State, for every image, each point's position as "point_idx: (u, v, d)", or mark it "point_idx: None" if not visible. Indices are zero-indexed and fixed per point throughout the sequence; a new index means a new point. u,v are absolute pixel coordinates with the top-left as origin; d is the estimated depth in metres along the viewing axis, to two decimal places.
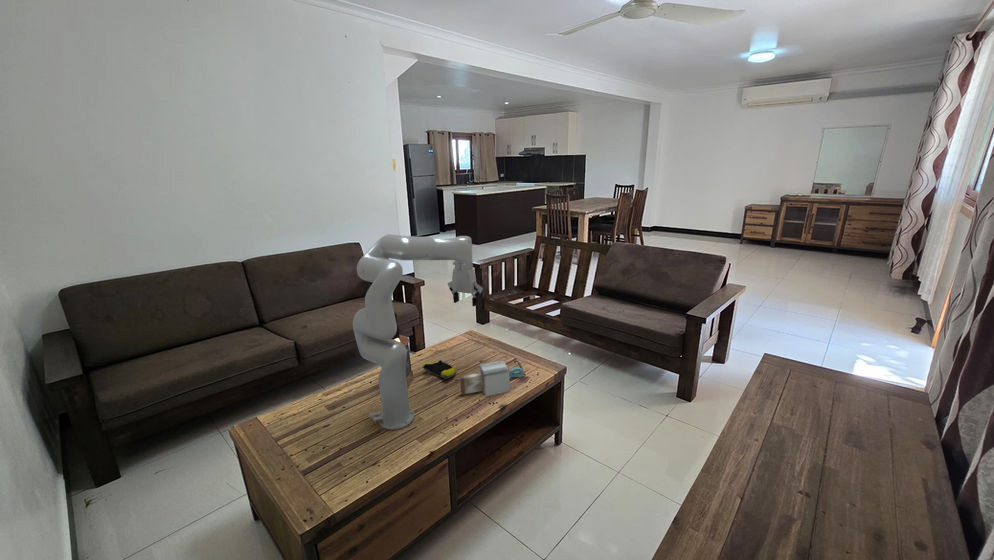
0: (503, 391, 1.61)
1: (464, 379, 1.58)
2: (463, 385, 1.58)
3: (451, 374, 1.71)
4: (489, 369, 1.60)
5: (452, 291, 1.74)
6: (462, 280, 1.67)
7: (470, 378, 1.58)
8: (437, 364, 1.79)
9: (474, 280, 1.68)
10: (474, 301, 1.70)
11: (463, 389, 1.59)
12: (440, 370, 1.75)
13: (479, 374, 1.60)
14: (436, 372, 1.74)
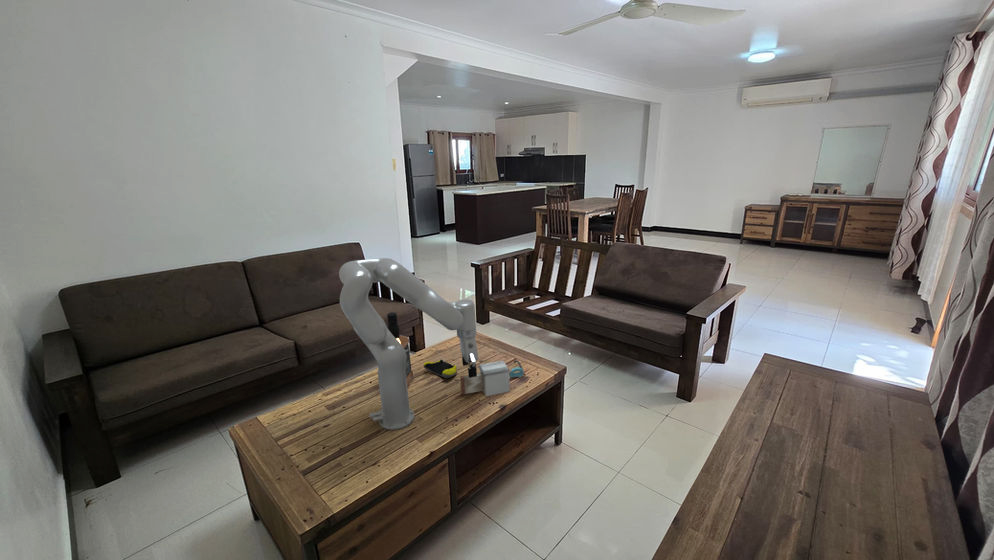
0: (503, 391, 1.61)
1: (464, 379, 1.58)
2: (463, 385, 1.58)
3: (452, 373, 1.72)
4: (489, 369, 1.60)
5: None
6: None
7: (470, 378, 1.58)
8: (438, 363, 1.80)
9: None
10: None
11: (463, 389, 1.59)
12: (442, 369, 1.75)
13: (479, 374, 1.60)
14: (437, 371, 1.75)
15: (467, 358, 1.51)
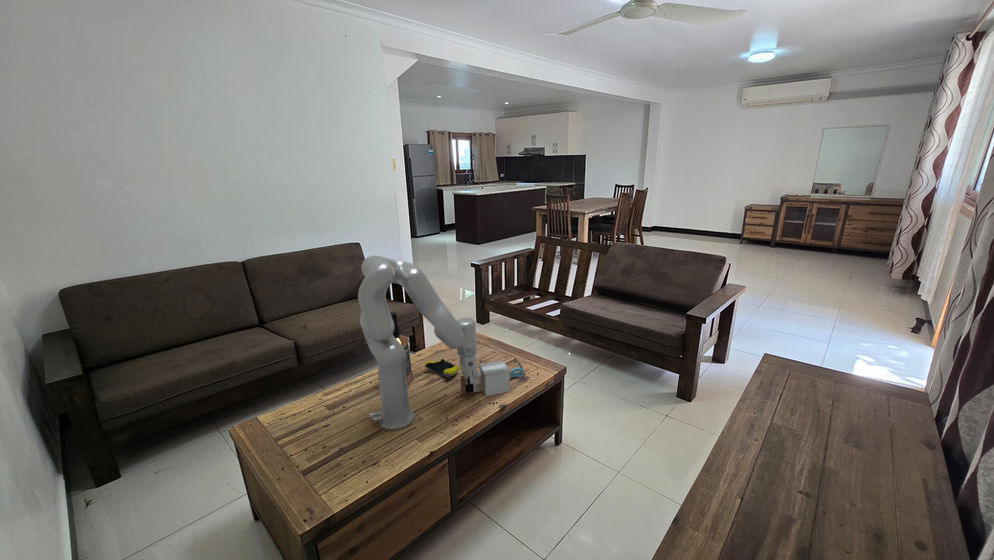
0: (503, 391, 1.61)
1: (464, 379, 1.58)
2: (463, 385, 1.58)
3: (453, 373, 1.72)
4: (489, 369, 1.60)
5: None
6: None
7: None
8: (439, 363, 1.80)
9: None
10: None
11: (463, 389, 1.59)
12: (443, 368, 1.76)
13: (479, 374, 1.60)
14: (438, 371, 1.75)
15: (467, 376, 1.53)
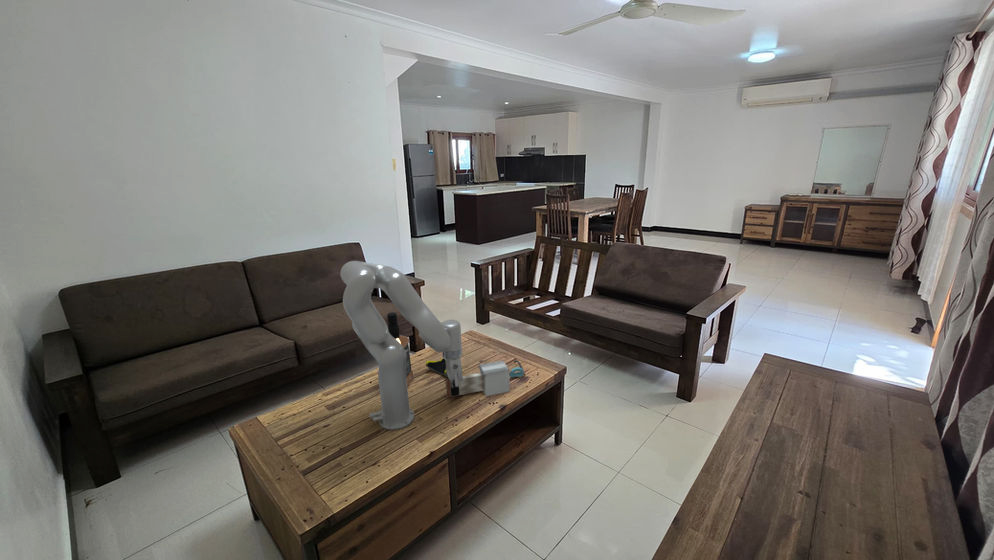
0: (503, 391, 1.61)
1: (449, 382, 1.56)
2: (448, 388, 1.56)
3: None
4: (489, 369, 1.60)
5: (458, 385, 1.56)
6: None
7: None
8: (440, 362, 1.81)
9: None
10: None
11: (449, 392, 1.57)
12: (444, 368, 1.76)
13: (465, 377, 1.58)
14: (439, 370, 1.76)
15: (452, 379, 1.51)
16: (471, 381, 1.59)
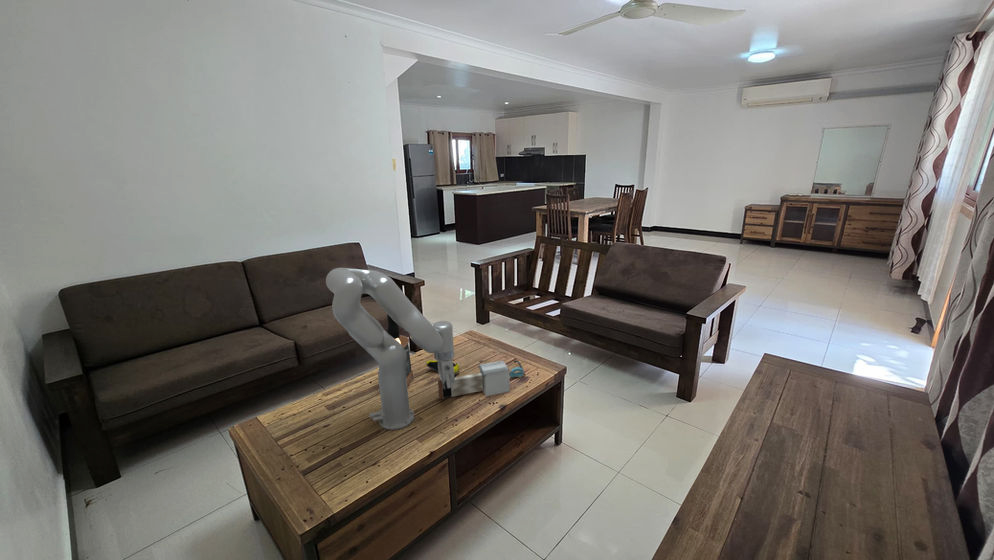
0: (503, 391, 1.61)
1: (441, 383, 1.55)
2: (440, 389, 1.56)
3: (455, 372, 1.73)
4: (489, 369, 1.60)
5: (450, 386, 1.55)
6: None
7: None
8: None
9: None
10: None
11: (441, 393, 1.56)
12: None
13: (457, 378, 1.58)
14: None
15: (443, 380, 1.50)
16: (463, 382, 1.58)
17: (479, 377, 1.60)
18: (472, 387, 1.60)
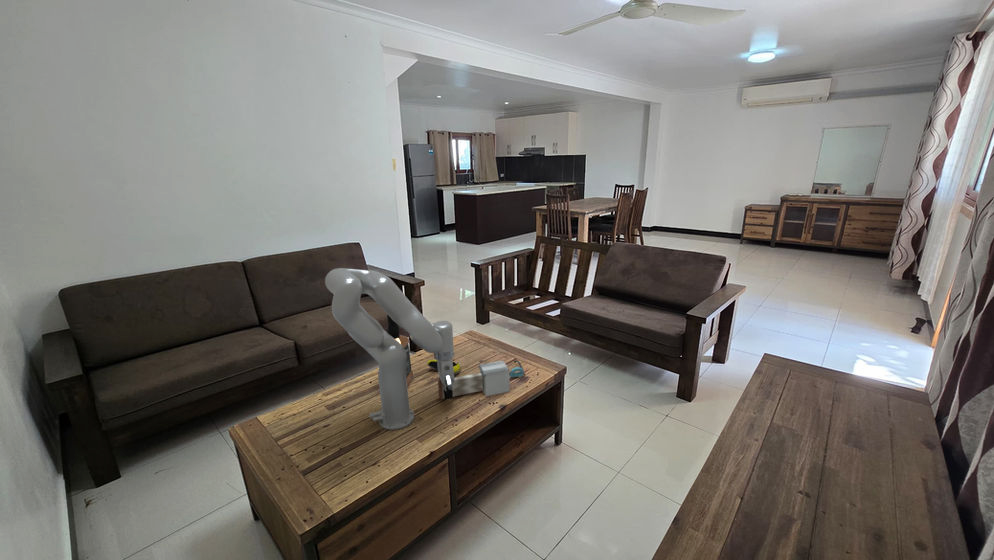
0: (503, 391, 1.61)
1: (441, 383, 1.55)
2: (440, 389, 1.56)
3: (456, 371, 1.73)
4: (489, 369, 1.60)
5: None
6: None
7: None
8: None
9: None
10: None
11: (441, 393, 1.56)
12: None
13: (457, 378, 1.58)
14: None
15: (443, 380, 1.50)
16: (463, 382, 1.58)
17: (479, 377, 1.60)
18: (472, 387, 1.60)
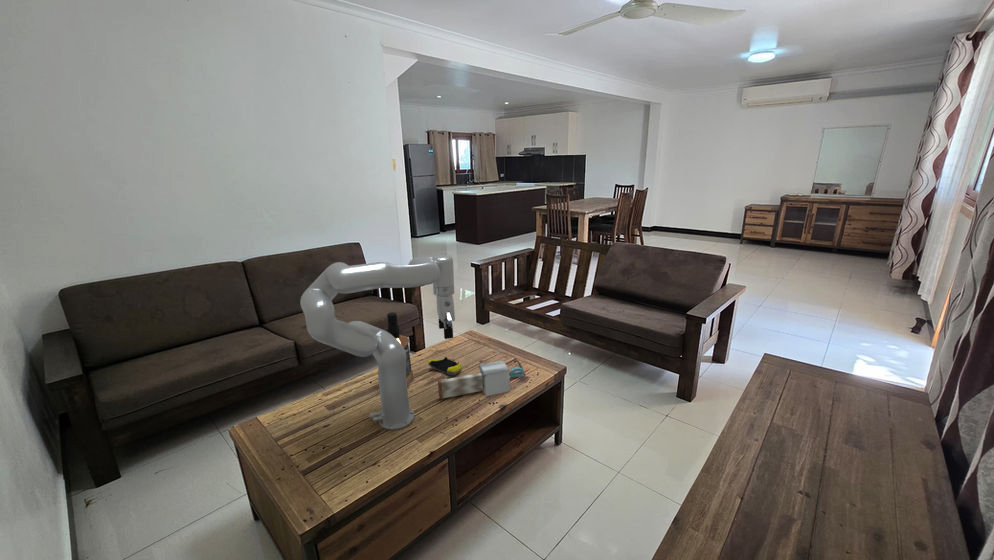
0: (503, 391, 1.61)
1: (441, 383, 1.55)
2: (440, 389, 1.56)
3: (457, 371, 1.74)
4: (489, 369, 1.60)
5: None
6: None
7: (448, 382, 1.56)
8: (443, 361, 1.82)
9: None
10: None
11: (441, 393, 1.56)
12: (446, 366, 1.77)
13: (457, 378, 1.58)
14: (442, 369, 1.77)
15: (443, 317, 1.42)
16: (463, 382, 1.58)
17: (479, 377, 1.60)
18: (472, 387, 1.60)
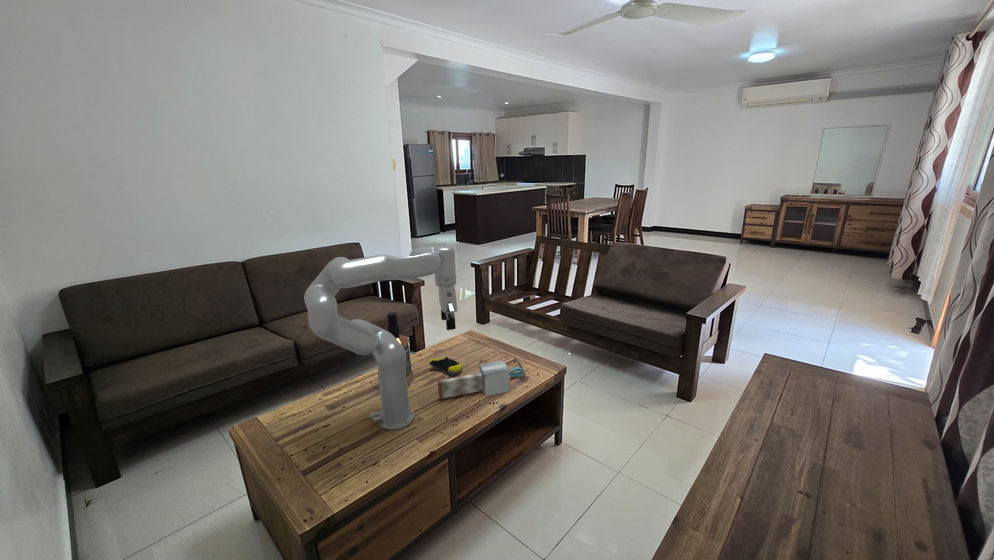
0: (503, 391, 1.61)
1: (441, 383, 1.55)
2: (440, 389, 1.56)
3: (457, 370, 1.74)
4: (489, 369, 1.60)
5: (454, 316, 1.42)
6: None
7: (448, 382, 1.56)
8: (443, 360, 1.82)
9: None
10: None
11: (441, 393, 1.56)
12: (447, 366, 1.78)
13: (457, 378, 1.58)
14: (443, 368, 1.78)
15: (445, 308, 1.41)
16: (463, 382, 1.58)
17: (479, 377, 1.60)
18: (472, 387, 1.60)
